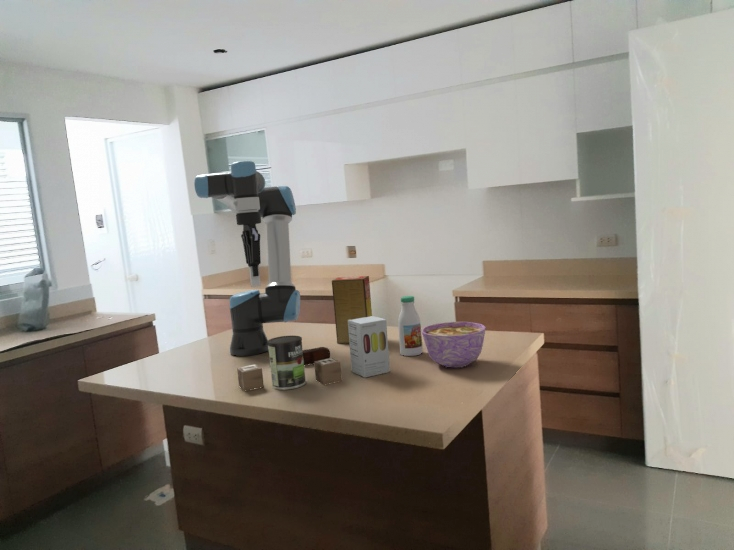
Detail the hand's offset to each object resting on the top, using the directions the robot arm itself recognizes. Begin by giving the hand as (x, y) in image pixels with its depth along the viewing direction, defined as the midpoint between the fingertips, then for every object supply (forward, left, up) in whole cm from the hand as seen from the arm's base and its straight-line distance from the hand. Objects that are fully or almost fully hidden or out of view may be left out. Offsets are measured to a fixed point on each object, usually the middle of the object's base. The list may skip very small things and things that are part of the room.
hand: (255, 286), depth 176 cm
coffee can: (+14, +3, -30) cm, 33 cm away
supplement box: (+20, +28, -30) cm, 45 cm away
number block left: (+8, -7, -30) cm, 31 cm away
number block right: (+19, +14, -30) cm, 38 cm away
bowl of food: (+32, +52, -30) cm, 68 cm away
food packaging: (-22, +44, -30) cm, 57 cm away
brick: (-4, +19, -30) cm, 36 cm away
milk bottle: (+11, +49, -30) cm, 58 cm away
